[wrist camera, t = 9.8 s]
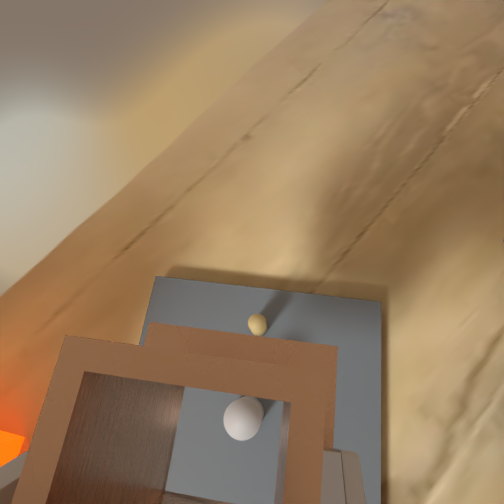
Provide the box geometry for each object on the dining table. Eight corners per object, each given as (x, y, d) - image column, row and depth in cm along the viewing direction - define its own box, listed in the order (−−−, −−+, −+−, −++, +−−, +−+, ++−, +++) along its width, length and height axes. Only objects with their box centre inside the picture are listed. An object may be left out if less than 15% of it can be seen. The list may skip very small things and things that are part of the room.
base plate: (100, 535, 25) (44, 584, 19) (161, 280, 32) (134, 257, 26) (374, 593, 23) (408, 669, 17) (376, 305, 30) (401, 286, 24)
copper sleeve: (101, 543, 14) (-174, 797, 5) (153, 323, 17) (30, 267, 8) (324, 591, 13) (412, 999, 4) (335, 347, 16) (399, 309, 7)
